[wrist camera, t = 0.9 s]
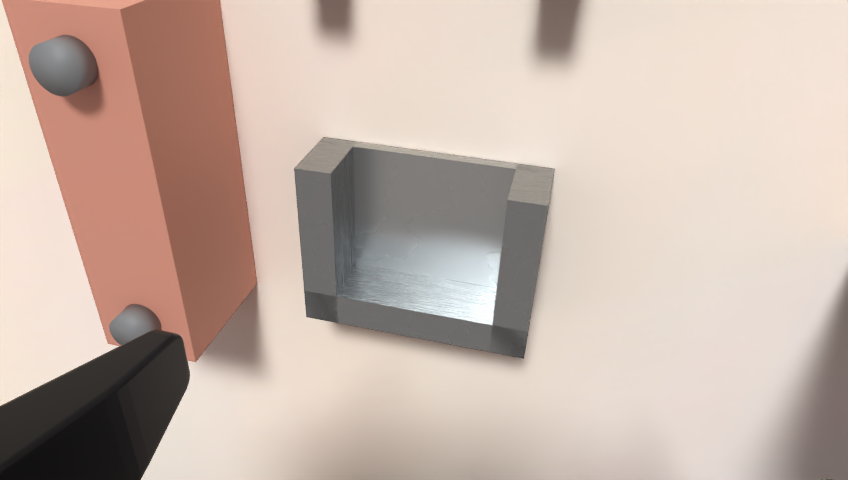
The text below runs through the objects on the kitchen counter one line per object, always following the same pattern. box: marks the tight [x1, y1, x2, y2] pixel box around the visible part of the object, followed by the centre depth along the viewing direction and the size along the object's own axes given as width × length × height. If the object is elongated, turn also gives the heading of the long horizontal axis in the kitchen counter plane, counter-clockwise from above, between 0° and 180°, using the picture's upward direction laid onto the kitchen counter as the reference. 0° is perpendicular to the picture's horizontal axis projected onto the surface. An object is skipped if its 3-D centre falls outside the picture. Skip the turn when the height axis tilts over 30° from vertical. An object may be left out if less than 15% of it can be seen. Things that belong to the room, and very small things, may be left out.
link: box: [2, 0, 257, 362], centre depth 21 cm, size 12×4×6 cm, turn 178°
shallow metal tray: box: [294, 137, 555, 359], centre depth 19 cm, size 18×8×2 cm, turn 177°
